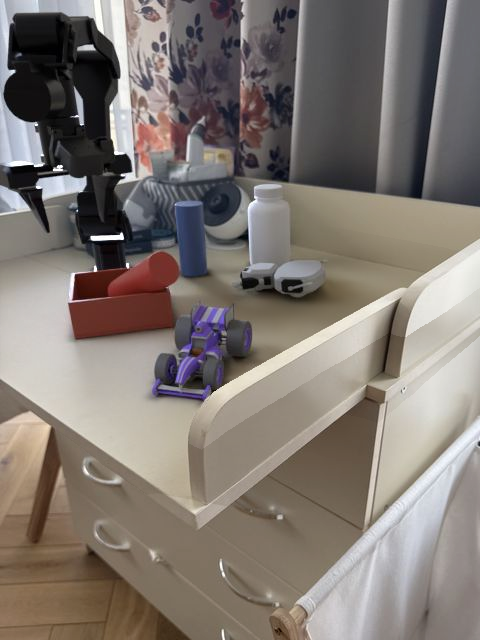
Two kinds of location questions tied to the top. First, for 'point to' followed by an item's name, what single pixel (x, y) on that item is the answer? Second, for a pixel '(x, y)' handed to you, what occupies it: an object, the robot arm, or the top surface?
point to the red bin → (114, 306)
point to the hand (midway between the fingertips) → (76, 227)
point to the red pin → (146, 276)
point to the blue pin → (191, 238)
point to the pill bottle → (269, 226)
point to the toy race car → (202, 350)
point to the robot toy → (284, 277)
